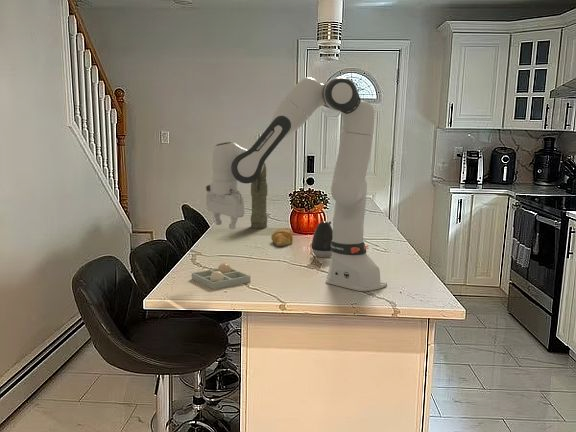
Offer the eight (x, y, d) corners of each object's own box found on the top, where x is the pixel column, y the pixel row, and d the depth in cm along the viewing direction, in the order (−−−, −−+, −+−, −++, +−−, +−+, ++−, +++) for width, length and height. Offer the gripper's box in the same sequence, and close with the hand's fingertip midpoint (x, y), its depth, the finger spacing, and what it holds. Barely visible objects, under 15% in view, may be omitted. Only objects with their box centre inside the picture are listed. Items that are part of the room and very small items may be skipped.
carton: (250, 284, 194) (250, 275, 193) (213, 291, 185) (212, 283, 184) (227, 274, 205) (227, 266, 205) (191, 281, 196) (191, 273, 196)
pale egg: (226, 285, 189) (226, 271, 189) (214, 287, 187) (214, 273, 186) (219, 281, 193) (219, 268, 192) (207, 284, 190) (207, 270, 189)
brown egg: (233, 276, 200) (233, 263, 199) (222, 278, 197) (221, 265, 196) (226, 274, 203) (226, 261, 203) (215, 276, 200) (214, 263, 200)
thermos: (268, 225, 304) (268, 161, 298) (266, 229, 293) (266, 162, 287) (252, 224, 305) (252, 161, 299) (249, 228, 293) (249, 162, 287)
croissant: (285, 255, 250) (293, 240, 249) (266, 244, 250) (274, 229, 249) (290, 244, 271) (298, 230, 269) (272, 234, 271) (280, 220, 269)
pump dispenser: (339, 255, 237) (340, 220, 234) (327, 260, 228) (328, 224, 226) (319, 252, 242) (320, 218, 240) (306, 257, 234) (307, 221, 231)
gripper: (248, 190, 189) (248, 230, 191) (217, 184, 205) (218, 221, 207) (233, 191, 185) (233, 232, 187) (202, 186, 201) (203, 223, 203)
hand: (225, 226), depth 197 cm, fingers open, 8 cm apart
